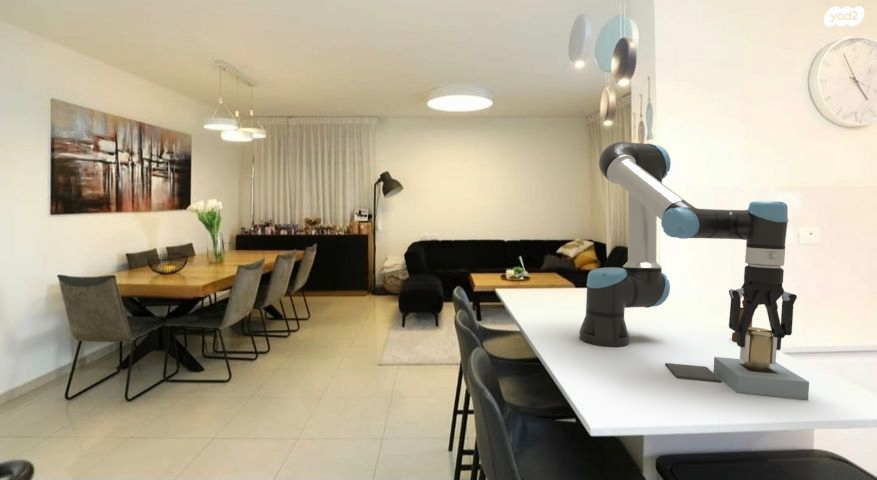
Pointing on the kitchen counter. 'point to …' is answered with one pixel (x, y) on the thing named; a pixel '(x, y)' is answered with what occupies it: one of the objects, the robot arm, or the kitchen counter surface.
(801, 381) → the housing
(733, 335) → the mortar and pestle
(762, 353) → the tan cylinder
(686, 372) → the rubber pad
